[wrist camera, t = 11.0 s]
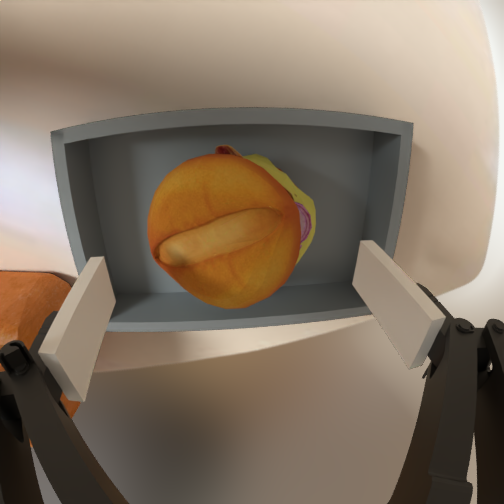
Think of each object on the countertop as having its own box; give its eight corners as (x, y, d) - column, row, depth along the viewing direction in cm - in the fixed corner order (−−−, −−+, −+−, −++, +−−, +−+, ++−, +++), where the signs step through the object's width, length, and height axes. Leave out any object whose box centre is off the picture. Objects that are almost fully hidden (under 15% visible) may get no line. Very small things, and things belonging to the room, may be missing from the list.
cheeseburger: (260, 295, 26) (248, 371, 17) (160, 226, 25) (98, 272, 16) (333, 203, 23) (366, 243, 14) (223, 125, 22) (181, 112, 12)
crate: (112, 296, 26) (98, 331, 22) (81, 125, 19) (50, 131, 14) (357, 282, 29) (378, 313, 24) (379, 117, 21) (413, 123, 17)
